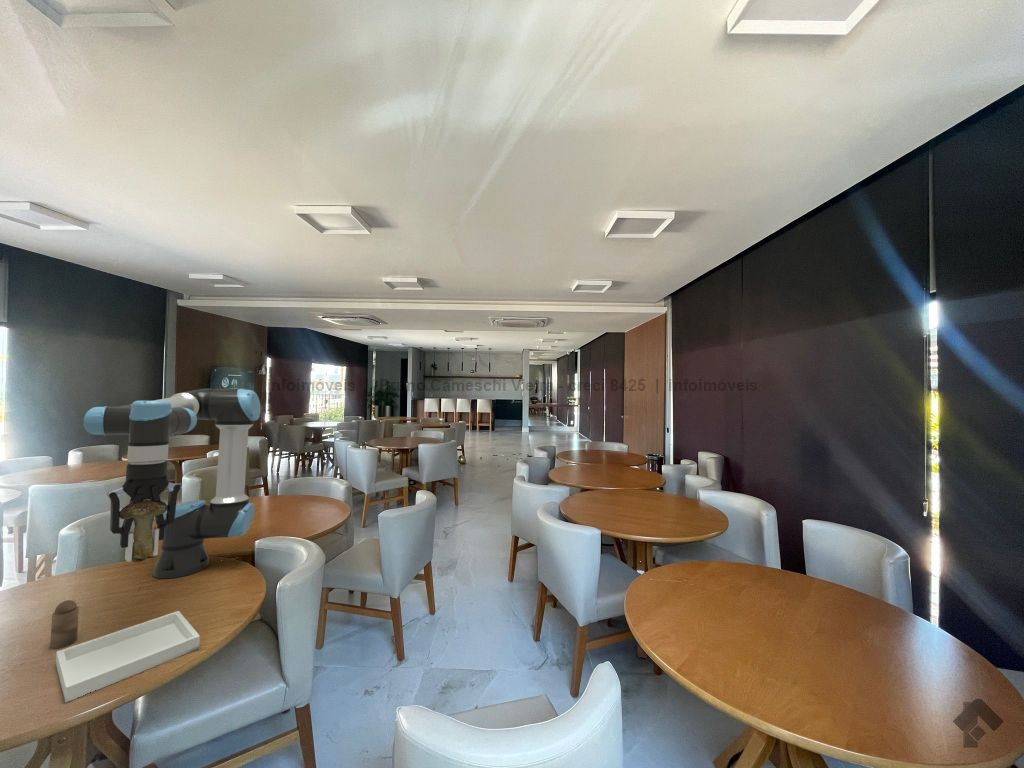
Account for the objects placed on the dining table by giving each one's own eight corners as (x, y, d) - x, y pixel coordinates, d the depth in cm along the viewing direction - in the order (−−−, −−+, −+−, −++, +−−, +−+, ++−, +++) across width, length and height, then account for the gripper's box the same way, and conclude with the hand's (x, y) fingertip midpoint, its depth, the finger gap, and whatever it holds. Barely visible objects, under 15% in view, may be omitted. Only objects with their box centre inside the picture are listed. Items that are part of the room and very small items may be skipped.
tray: (178, 621, 107) (178, 610, 108) (199, 648, 97) (199, 635, 97) (55, 664, 90) (56, 651, 90) (65, 703, 79) (66, 687, 79)
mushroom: (126, 571, 90) (132, 506, 91) (105, 565, 93) (110, 502, 94) (174, 557, 99) (178, 497, 100) (153, 552, 102) (157, 494, 103)
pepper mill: (75, 635, 100) (78, 594, 101) (78, 642, 98) (80, 600, 98) (49, 644, 97) (51, 601, 97) (51, 651, 94) (53, 607, 95)
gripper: (186, 457, 107) (181, 543, 105) (95, 464, 93) (88, 564, 92) (195, 459, 102) (189, 550, 101) (101, 467, 88) (93, 572, 87)
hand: (141, 556), depth 96 cm, fingers closed on mushroom, 4 cm apart
